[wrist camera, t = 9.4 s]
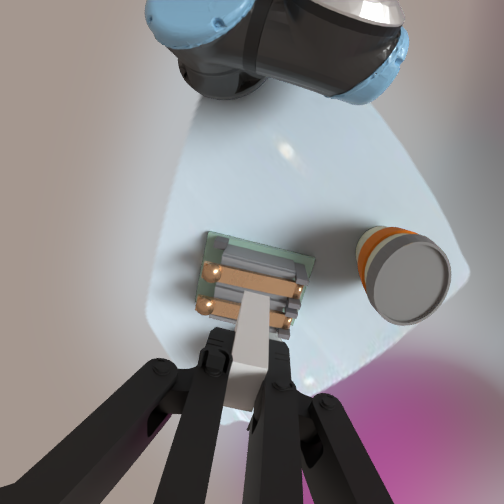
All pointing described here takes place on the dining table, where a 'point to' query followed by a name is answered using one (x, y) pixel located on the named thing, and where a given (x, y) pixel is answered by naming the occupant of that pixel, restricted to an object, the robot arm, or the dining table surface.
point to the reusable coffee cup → (402, 274)
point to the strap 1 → (250, 280)
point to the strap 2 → (236, 311)
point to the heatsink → (259, 261)
